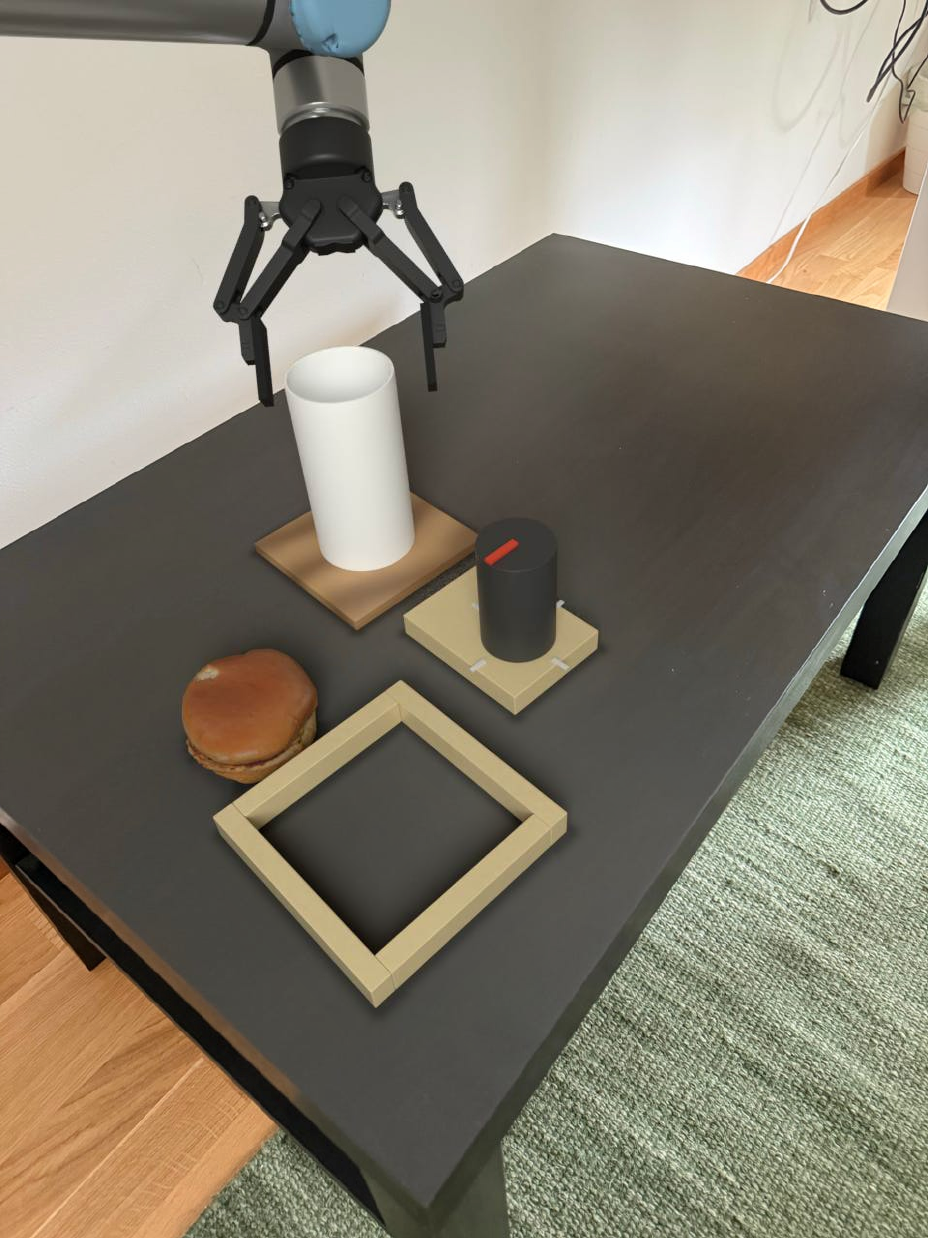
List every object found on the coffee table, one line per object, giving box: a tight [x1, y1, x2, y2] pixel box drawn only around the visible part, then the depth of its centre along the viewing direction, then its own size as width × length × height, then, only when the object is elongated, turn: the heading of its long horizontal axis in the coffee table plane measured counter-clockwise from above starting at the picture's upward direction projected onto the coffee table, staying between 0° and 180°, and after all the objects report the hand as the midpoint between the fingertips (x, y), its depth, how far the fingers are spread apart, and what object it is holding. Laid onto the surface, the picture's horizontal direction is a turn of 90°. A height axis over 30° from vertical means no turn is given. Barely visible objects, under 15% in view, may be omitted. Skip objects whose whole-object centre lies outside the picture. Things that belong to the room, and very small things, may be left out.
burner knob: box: [474, 517, 559, 663], centre depth 66 cm, size 6×6×9 cm
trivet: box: [254, 491, 479, 631], centre depth 80 cm, size 14×14×1 cm
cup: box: [283, 345, 415, 571], centre depth 74 cm, size 8×8×16 cm
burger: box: [181, 648, 319, 784], centre depth 65 cm, size 10×9×5 cm
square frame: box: [212, 679, 568, 1008], centre depth 59 cm, size 16×16×2 cm
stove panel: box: [402, 565, 599, 716], centre depth 71 cm, size 13×10×2 cm
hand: (349, 395), depth 76 cm, fingers open, 13 cm apart
